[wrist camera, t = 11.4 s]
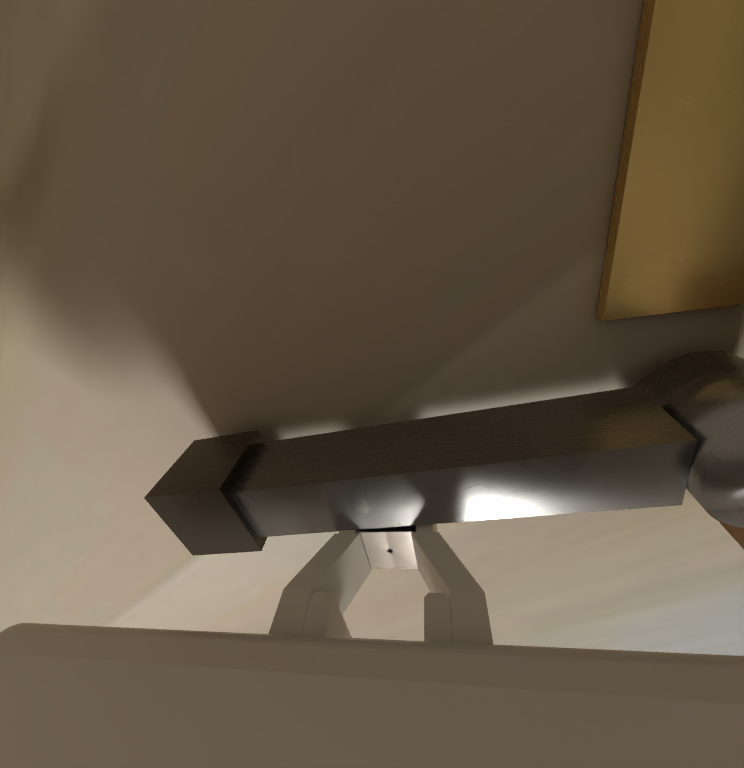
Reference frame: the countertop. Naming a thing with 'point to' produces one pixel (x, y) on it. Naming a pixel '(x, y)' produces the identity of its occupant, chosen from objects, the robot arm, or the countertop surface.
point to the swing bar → (474, 464)
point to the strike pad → (680, 166)
